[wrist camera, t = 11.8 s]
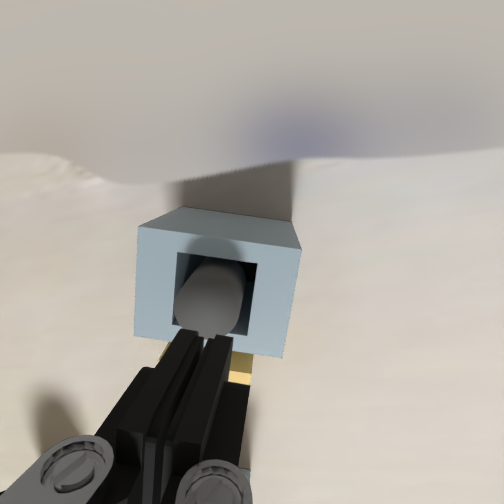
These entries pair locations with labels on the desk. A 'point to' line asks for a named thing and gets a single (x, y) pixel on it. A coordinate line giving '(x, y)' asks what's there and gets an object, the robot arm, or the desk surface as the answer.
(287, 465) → the desk surface
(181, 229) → the frame
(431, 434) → the desk surface
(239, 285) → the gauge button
